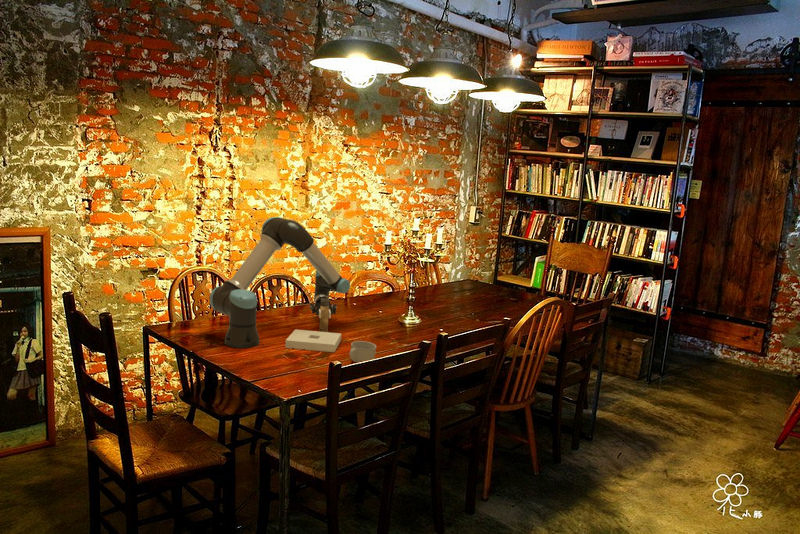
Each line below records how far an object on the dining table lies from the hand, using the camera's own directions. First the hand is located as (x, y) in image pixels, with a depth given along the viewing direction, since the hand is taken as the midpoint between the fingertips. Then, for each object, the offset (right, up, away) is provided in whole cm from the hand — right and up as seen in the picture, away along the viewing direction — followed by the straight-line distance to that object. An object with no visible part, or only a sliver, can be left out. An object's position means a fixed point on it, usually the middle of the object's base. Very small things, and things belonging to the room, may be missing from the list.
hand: (325, 315), depth 297 cm
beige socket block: (-4, -13, -10) cm, 16 cm away
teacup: (+18, -18, -31) cm, 40 cm away
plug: (-2, -8, +7) cm, 11 cm away
